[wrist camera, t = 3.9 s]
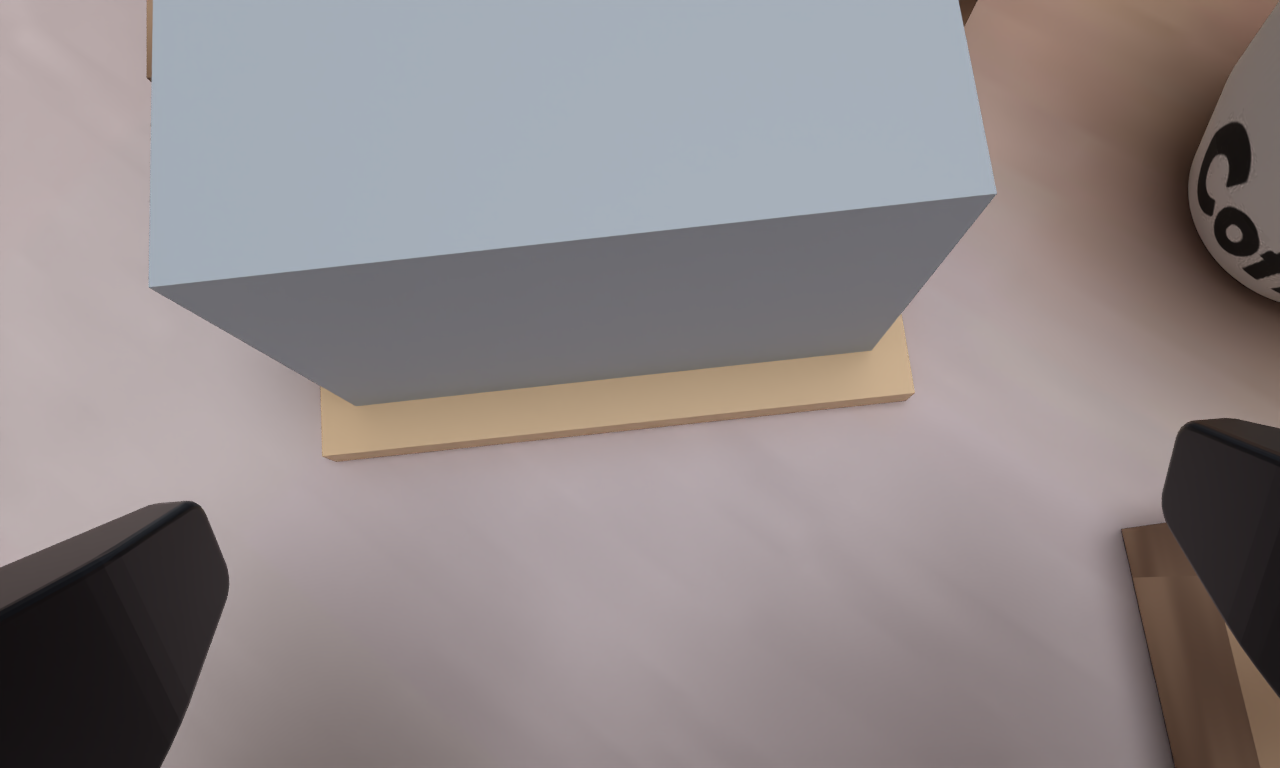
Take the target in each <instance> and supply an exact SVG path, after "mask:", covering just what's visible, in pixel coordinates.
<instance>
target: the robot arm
mask: <svg viewBox="0 0 1280 768" xmlns="http://www.w3.org/2000/svg"><path fill="white" fill-rule="evenodd" d="M1162 509H1163V514H1164V518H1165V521H1166V523H1167V525H1168V527H1169V529H1170V531H1171V532H1172V534H1173V536H1174V537H1175V539H1176V541H1177V542H1178V544H1179V546H1180V547H1181V549H1182V551H1183V552H1184V554H1185V556H1186V557H1187V559H1188V561H1189V562H1190V564H1191V566H1192V567H1193V569H1194V571H1195V572H1196V574H1197V576H1198V578H1199V579H1200V581H1201V583H1202V584H1203V586H1204V588H1205V589H1206V591H1207V593H1208V594H1209V596H1210V598H1211V599H1212V601H1213V603H1214V604H1215V606H1216V608H1217V609H1218V611H1219V613H1220V614H1221V616H1222V618H1223V619H1224V621H1225V623H1226V624H1227V626H1228V628H1229V629H1230V631H1231V632H1232V634H1233V635H1234V637H1235V638H1236V640H1237V641H1238V643H1239V645H1240V646H1241V648H1242V649H1243V650H1244V652H1245V653H1246V654H1247V656H1248V657H1249V659H1250V660H1251V661H1252V663H1253V664H1254V666H1255V667H1256V668H1257V670H1258V671H1259V672H1260V674H1261V675H1262V676H1263V678H1264V679H1265V680H1266V681H1267V683H1268V684H1269V685H1270V687H1271V688H1272V689H1273V691H1274V692H1275V693H1276V695H1277V696H1278V697H1279V698H1280V429H1279V428H1275V427H1270V426H1266V425H1261V424H1257V423H1252V422H1248V421H1243V420H1239V419H1231V418H1220V419H1208V420H1195V421H1190V422H1187V423H1186V424H1185V425H1184V426H1182V427H1181V429H1180V430H1179V432H1178V434H1177V437H1176V440H1175V444H1174V448H1173V452H1172V456H1171V460H1170V464H1169V468H1168V472H1167V476H1166V480H1165V484H1164V488H1163V493H1162ZM228 591H229V574H228V569H227V566H226V563H225V560H224V558H223V555H222V553H221V550H220V548H219V545H218V543H217V540H216V538H215V535H214V533H213V530H212V528H211V526H210V523H209V521H208V518H207V516H206V514H205V512H204V510H203V509H202V507H201V506H200V505H198V504H196V503H195V502H192V501H181V502H168V503H157V504H153V505H148V506H146V507H144V508H141V509H139V510H137V511H134V512H132V513H129V514H127V515H125V516H122V517H120V518H117V519H115V520H113V521H110V522H108V523H105V524H103V525H101V526H98V527H96V528H94V529H91V530H89V531H86V532H84V533H82V534H79V535H77V536H74V537H72V538H70V539H67V540H65V541H63V542H60V543H58V544H55V545H53V546H51V547H48V548H46V549H43V550H41V551H39V552H36V553H34V554H31V555H29V556H27V557H24V558H22V559H20V560H17V561H15V562H12V563H10V564H8V565H5V566H3V567H0V768H160V767H161V765H162V763H163V761H164V759H165V757H166V755H167V753H168V751H169V749H170V747H171V745H172V743H173V740H174V738H175V736H176V734H177V732H178V730H179V727H180V725H181V723H182V720H183V718H184V715H185V713H186V711H187V708H188V706H189V703H190V700H191V698H192V695H193V692H194V689H195V686H196V684H197V681H198V678H199V675H200V672H201V670H202V667H203V664H204V661H205V659H206V656H207V653H208V650H209V647H210V645H211V642H212V639H213V636H214V633H215V631H216V628H217V625H218V622H219V619H220V617H221V614H222V611H223V608H224V606H225V603H226V600H227V596H228Z"/></svg>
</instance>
